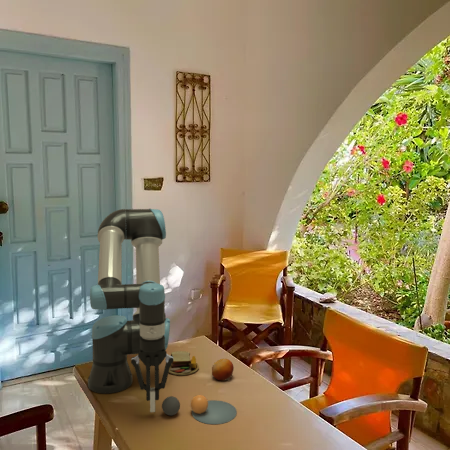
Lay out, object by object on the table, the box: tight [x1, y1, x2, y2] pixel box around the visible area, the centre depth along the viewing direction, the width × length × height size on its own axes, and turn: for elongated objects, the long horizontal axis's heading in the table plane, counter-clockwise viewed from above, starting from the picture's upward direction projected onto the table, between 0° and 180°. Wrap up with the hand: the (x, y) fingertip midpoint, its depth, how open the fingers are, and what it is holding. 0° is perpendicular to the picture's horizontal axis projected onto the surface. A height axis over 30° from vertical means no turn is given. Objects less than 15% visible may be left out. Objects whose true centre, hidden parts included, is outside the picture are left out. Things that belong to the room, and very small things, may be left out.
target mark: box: [191, 399, 238, 425], centre depth 145 cm, size 14×14×1 cm
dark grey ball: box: [161, 395, 181, 416], centre depth 144 cm, size 6×6×6 cm
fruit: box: [211, 358, 235, 382], centre depth 169 cm, size 8×8×8 cm
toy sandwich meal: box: [168, 350, 200, 376], centre depth 176 cm, size 12×14×5 cm
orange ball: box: [189, 394, 209, 414], centre depth 145 cm, size 6×6×6 cm
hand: (152, 409), depth 143 cm, fingers closed
